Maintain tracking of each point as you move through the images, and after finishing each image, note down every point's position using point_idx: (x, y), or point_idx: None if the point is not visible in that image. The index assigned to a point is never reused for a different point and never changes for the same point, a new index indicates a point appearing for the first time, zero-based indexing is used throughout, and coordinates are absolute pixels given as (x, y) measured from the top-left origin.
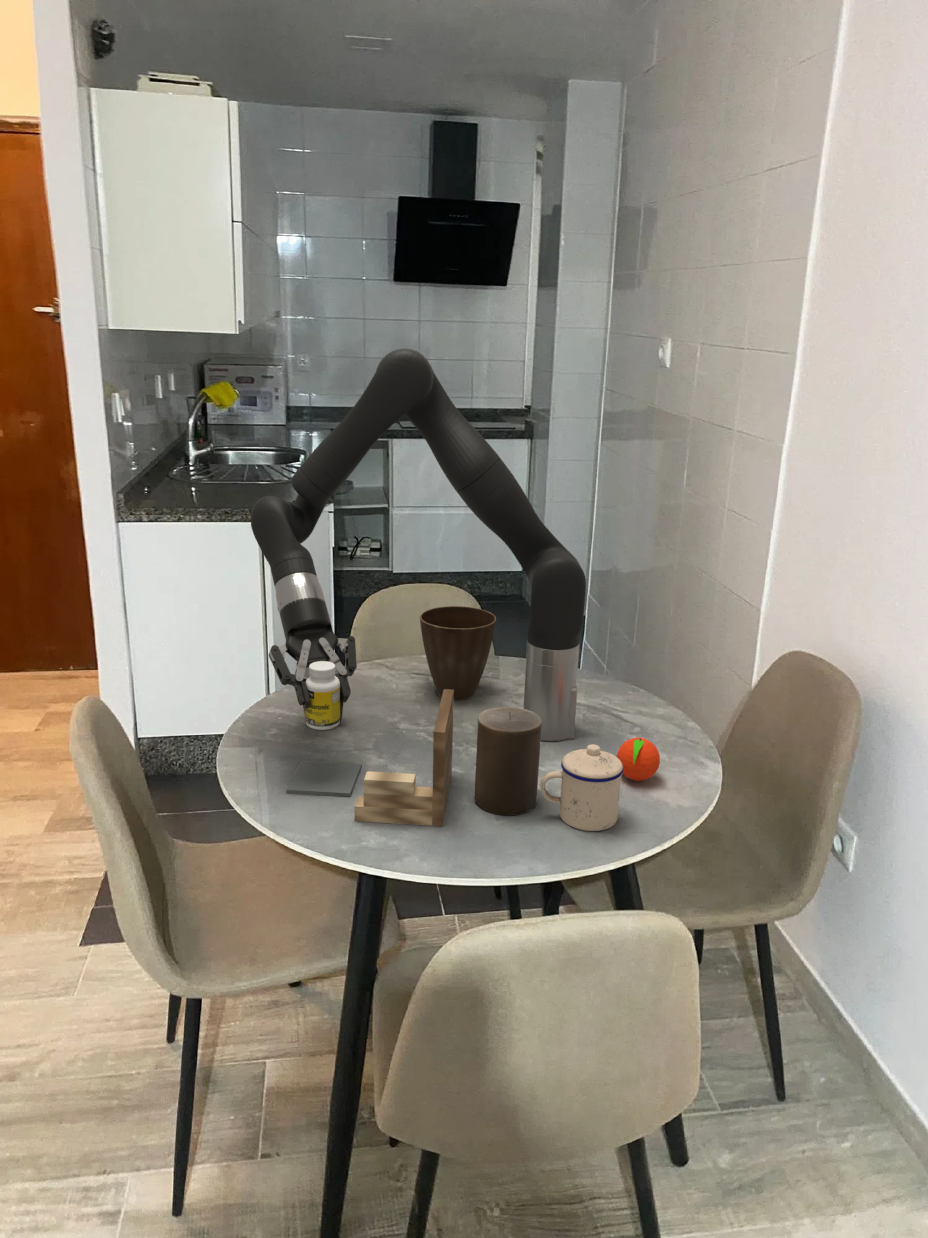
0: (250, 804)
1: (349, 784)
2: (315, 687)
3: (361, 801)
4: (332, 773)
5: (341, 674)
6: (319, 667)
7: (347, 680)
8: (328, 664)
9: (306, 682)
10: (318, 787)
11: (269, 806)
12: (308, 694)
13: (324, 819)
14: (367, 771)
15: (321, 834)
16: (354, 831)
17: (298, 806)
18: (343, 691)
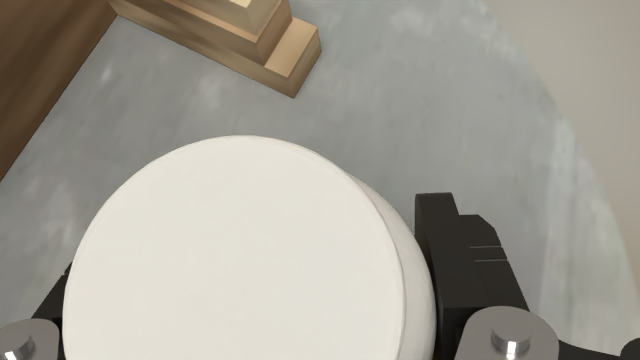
0: (603, 249)
1: None
2: (371, 188)
3: (288, 47)
4: None
5: (54, 328)
6: (283, 246)
7: (42, 305)
8: (138, 312)
9: (429, 316)
10: None
11: (543, 215)
12: (425, 225)
13: (397, 88)
14: (245, 5)
15: (424, 21)
16: (337, 8)
17: (454, 183)
18: None
